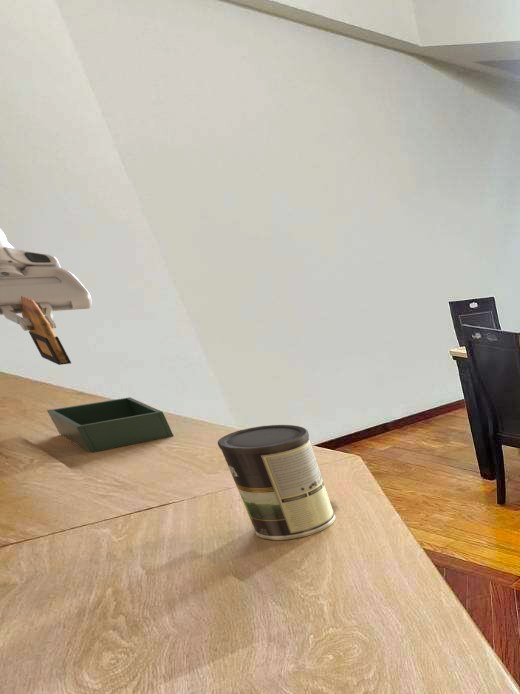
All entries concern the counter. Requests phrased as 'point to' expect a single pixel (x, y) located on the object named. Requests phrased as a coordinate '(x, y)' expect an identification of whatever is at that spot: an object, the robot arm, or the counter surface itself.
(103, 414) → the tray
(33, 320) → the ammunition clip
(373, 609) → the counter surface
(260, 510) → the coffee can
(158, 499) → the counter surface
